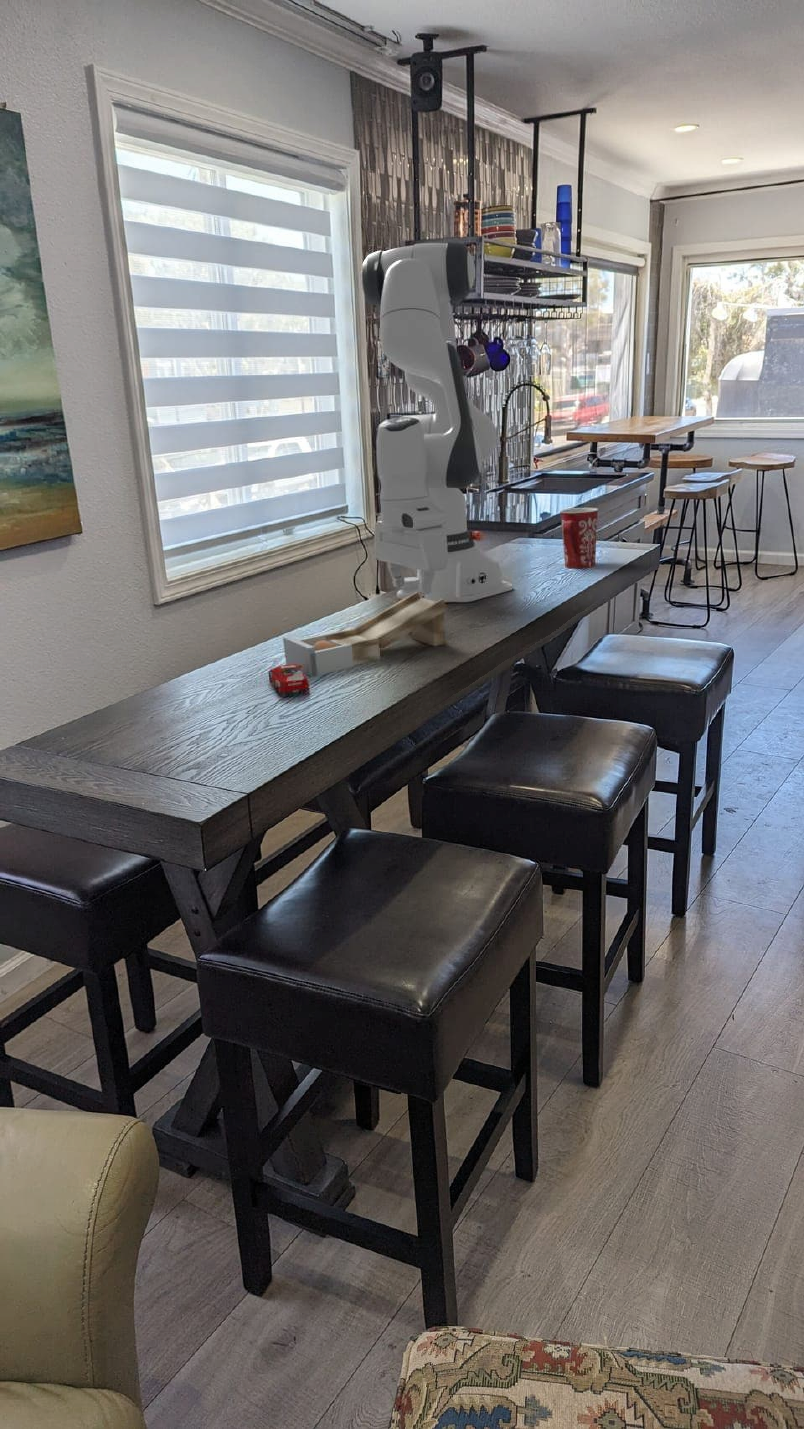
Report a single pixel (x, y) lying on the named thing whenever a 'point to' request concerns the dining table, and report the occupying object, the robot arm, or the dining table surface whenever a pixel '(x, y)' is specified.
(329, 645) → the ball
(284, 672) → the race car
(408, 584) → the supplement bottle
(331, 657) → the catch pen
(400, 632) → the ramp
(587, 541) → the mug
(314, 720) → the dining table surface
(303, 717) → the dining table surface
